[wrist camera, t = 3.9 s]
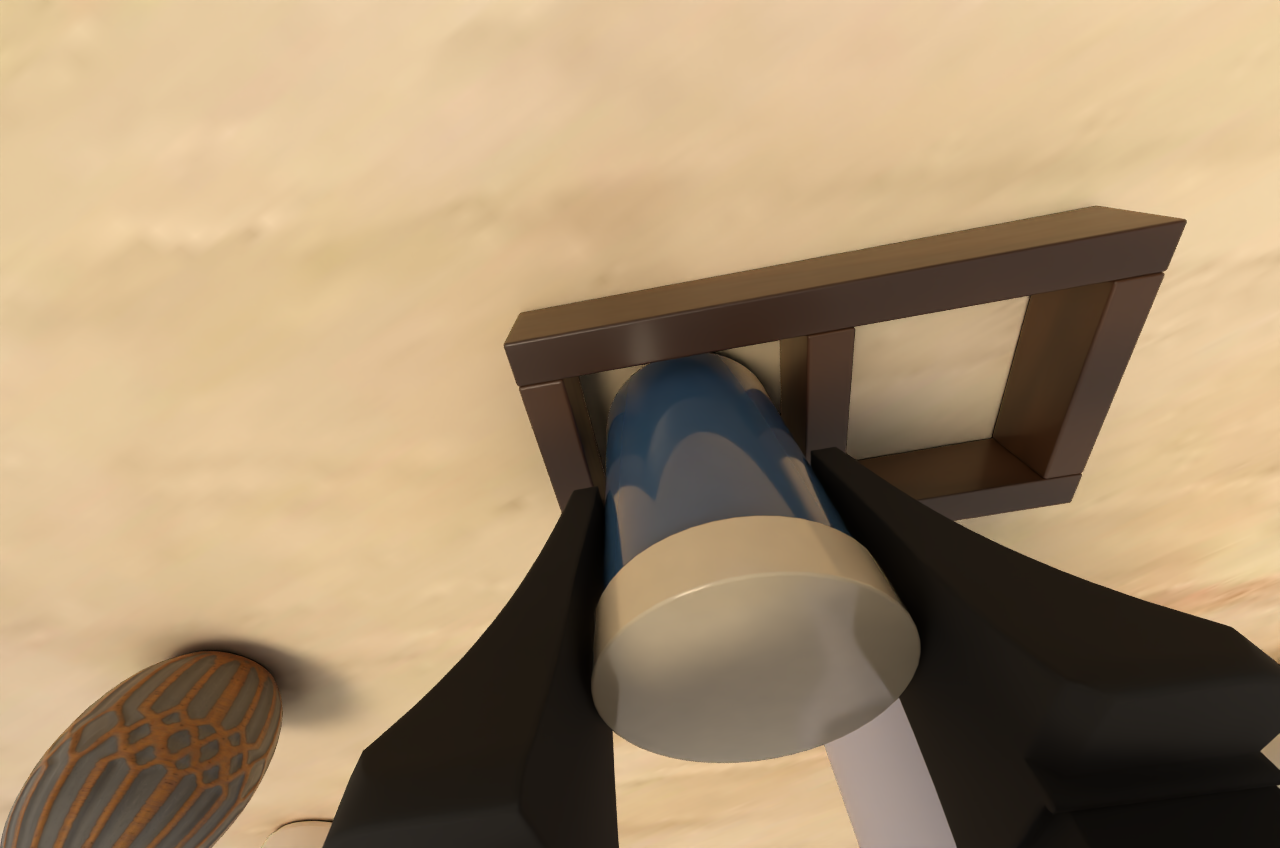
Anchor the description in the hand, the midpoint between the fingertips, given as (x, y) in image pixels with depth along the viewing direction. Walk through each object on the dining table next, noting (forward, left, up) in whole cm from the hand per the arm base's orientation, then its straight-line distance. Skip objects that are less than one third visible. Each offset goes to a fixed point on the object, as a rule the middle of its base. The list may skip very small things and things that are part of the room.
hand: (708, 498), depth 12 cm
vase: (+14, +20, -4) cm, 25 cm away
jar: (0, 0, -3) cm, 3 cm away
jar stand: (-3, -2, -4) cm, 6 cm away
